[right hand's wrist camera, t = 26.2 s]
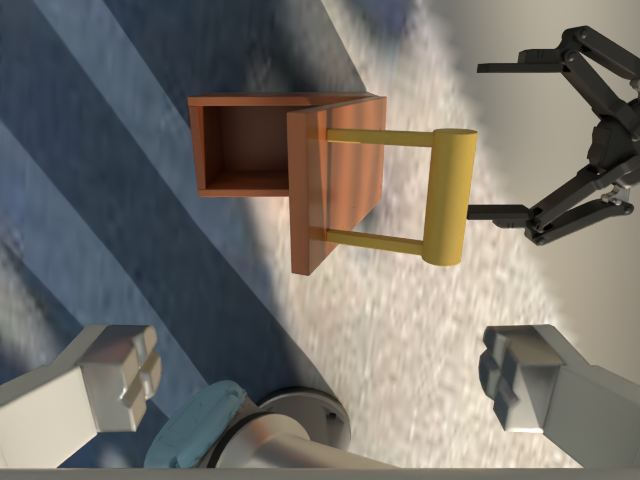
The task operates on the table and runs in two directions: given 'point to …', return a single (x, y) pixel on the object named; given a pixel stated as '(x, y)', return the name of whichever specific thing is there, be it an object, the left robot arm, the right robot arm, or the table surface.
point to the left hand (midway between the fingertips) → (472, 144)
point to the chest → (248, 139)
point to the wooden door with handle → (369, 182)
